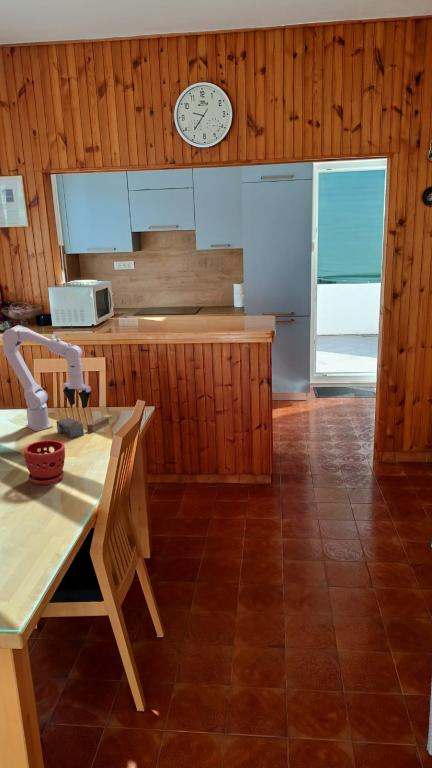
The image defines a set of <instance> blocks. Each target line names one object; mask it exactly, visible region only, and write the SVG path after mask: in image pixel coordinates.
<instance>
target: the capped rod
mask: <svg viewBox="0 0 432 768" xmlns="http://www.w3.org/2000/svg"><path fill="white" fill-rule="evenodd" d="M112 423H114V416H113V415H112V414H104V415H103V416H101V417H100V418H99V417H98V418H97V419H96V420H93V421H92V422H90V423H88V424H86V427H87V432H89V433H95V432H96V431H98V430H101V429H102V428H104V427H106V426H108V425H109V424H112Z"/></svg>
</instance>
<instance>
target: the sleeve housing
mask: <svg viewBox="0 0 432 768" xmlns="http://www.w3.org/2000/svg"><path fill="white" fill-rule="evenodd" d="M56 429H57V431H56V432H57V433H58V434H60V435H62V434H65V433H66V437H67V438H68V439H75V438H78V437H81V436H84V435H85V433H84V432H85V431H84V423H83V422H80V421H78V420H77V419H74V418H71V417H65V418H62V419H59V420H56Z"/></svg>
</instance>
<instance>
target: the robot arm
mask: <svg viewBox="0 0 432 768" xmlns="http://www.w3.org/2000/svg"><path fill="white" fill-rule="evenodd" d="M61 339H62V338H59V337H58V338H51V339H50V338H48V337H46V336H45V335H42V334H40V333H38V332H37V331H34V330H32V329H30V328H28V327H26V326H22V325H21V324H20V325H19V324H18V325H15V326H14V327H11V328H7V329H5V330H4V331H3V334H2V337H1V340H2V345H3V346H2V347H3V348H2V349H3V353H4V356H5V357H6V358H7V361H8V363H9V364H10V367H12V370H13V371H14V374H15V375H16V377H17V379H18V380H19V382H20V383H21V386H22V387H23V388H22V389H24V393H23V397H24V399H25V403H26V406H27V409H26V418H27V424H26V428H29V429H31V430H33V431H34V432H38V431H42V430H46V429H49V428H53V427H54V426H53V425H52V424H50V422H49V421H50V420H49V413H48V405H47V402H48V399H49V395H48V393H47V391H46V390H44V389H43V387H42V386H41V385H40V384H38V383H37V382H36V380H35V378H34V377H33V375H32V373H31V371H30V369H29V367H28V366H27V364H26V363H25V360H24V358H23V356H22V355H21V353H20V351H19V349H20V346H21V344H22V343H23V342H27V341H28V342H29V341H30V342H33V343H35V344H38V345H41V346H44V347H46V348H47V349H48V351H49V352H51V353H53V354H56V355H58V356H61V357H63V358H64V359H65V360H66V362H67V363H66V364H67V373H68V382H64V383H63V384H62V387H63V388H64V389H62V392H63V393H64V395H65V397H66V399H67V400H68V404H69V405H70V406H73V405H76V391H79V392H77V394H78V395H79V399H80V402H81V407H82V409H86V408H88V405H89V400H90V397H91V394H92V388H91V387H92V386H88V385H86V384H85V383H84V377H83V376H84V375H83V365H82V356H83V349H82V348H81V346H78V345H77V344H72V343H70V342H69V343H67V342H65V341H63V340H61Z"/></svg>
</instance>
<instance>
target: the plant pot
mask: <svg viewBox="0 0 432 768" xmlns="http://www.w3.org/2000/svg"><path fill="white" fill-rule="evenodd" d="M45 448H46V449H45ZM50 448H52V449H53V451H50ZM38 449H39V450H40V451H38ZM23 450H24V451H23V453H24V461H25V464H26V469H27V470H28V472H29V474H28V480H29V481H30V482H31V483H33V484H36V485H48V484H49V485H50V484H54V483H57V482H59V481H60V480H62V478H63V477H64V475H65V471H64V467H65V459H66V447H65V444H64V443H63V442H62V441H58V440H51V439H49V440H47V439H46V440H39V441H35V442H32V443H30V444H28V445H27V446H26V445H25V447H24V449H23Z"/></svg>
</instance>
